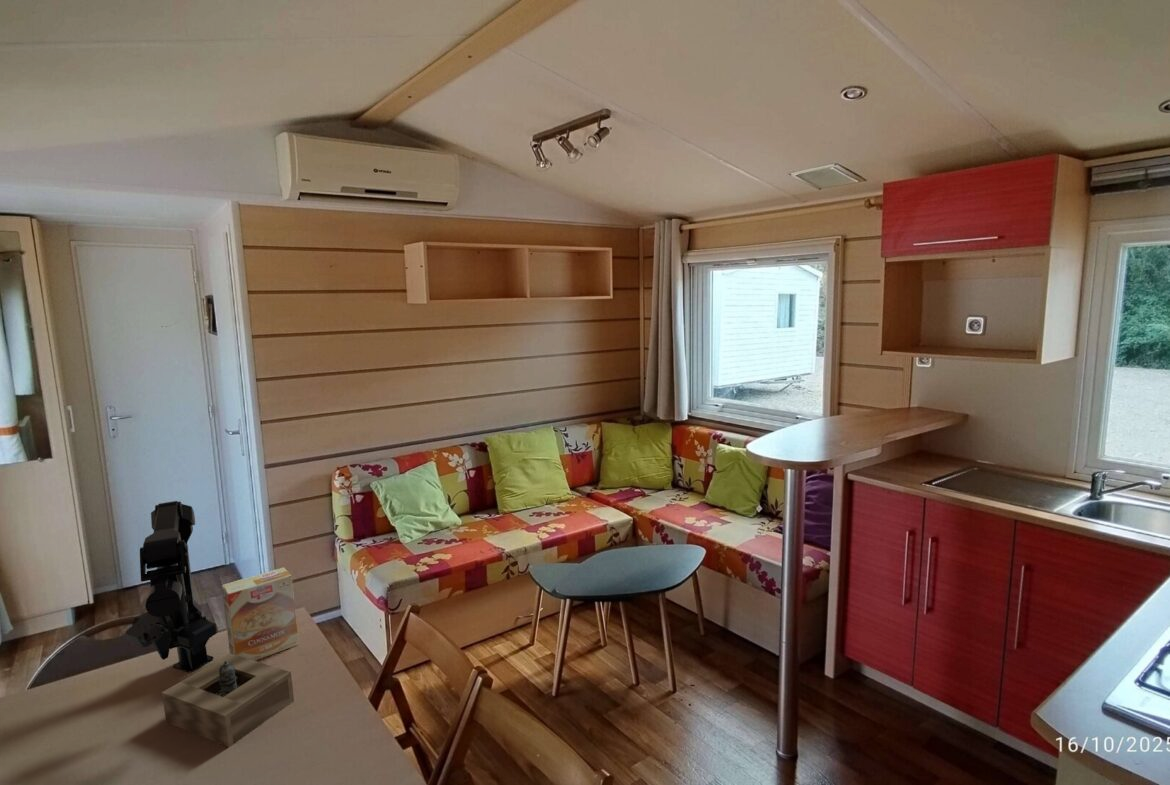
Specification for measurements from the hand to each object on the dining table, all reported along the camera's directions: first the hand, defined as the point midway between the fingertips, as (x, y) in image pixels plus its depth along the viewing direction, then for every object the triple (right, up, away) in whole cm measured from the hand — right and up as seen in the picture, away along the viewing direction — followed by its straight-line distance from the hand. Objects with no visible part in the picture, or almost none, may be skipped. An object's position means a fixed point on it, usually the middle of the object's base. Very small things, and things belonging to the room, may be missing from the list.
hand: (179, 662), depth 137 cm
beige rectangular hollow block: (+9, -12, +4) cm, 16 cm away
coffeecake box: (+5, -9, +27) cm, 29 cm away
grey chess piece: (+9, -12, +4) cm, 16 cm away
